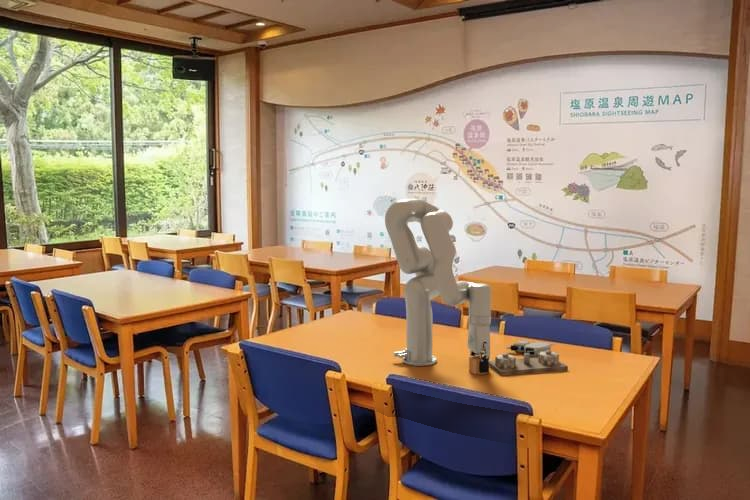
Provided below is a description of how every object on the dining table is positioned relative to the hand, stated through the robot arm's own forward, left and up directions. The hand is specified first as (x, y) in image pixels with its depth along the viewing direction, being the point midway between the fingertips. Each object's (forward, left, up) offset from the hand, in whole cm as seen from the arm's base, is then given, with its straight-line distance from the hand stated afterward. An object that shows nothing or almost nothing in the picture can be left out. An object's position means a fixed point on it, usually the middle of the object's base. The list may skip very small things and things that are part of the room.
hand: (479, 368), depth 215 cm
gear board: (+18, 0, -1) cm, 18 cm away
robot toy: (+27, +16, -1) cm, 31 cm away
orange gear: (0, 0, -1) cm, 1 cm away
